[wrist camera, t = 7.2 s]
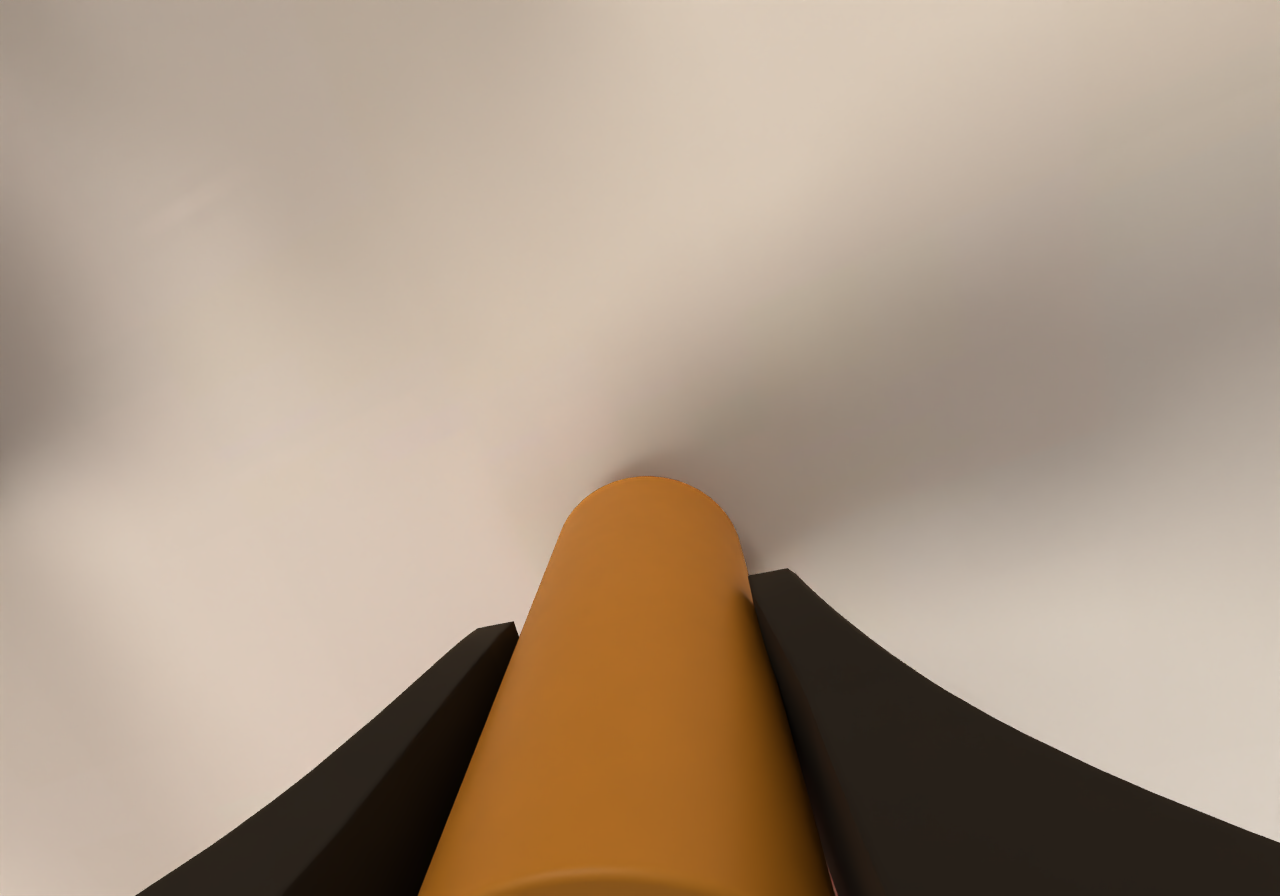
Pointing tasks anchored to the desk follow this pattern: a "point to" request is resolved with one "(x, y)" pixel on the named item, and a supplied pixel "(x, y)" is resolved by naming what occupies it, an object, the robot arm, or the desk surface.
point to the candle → (636, 724)
